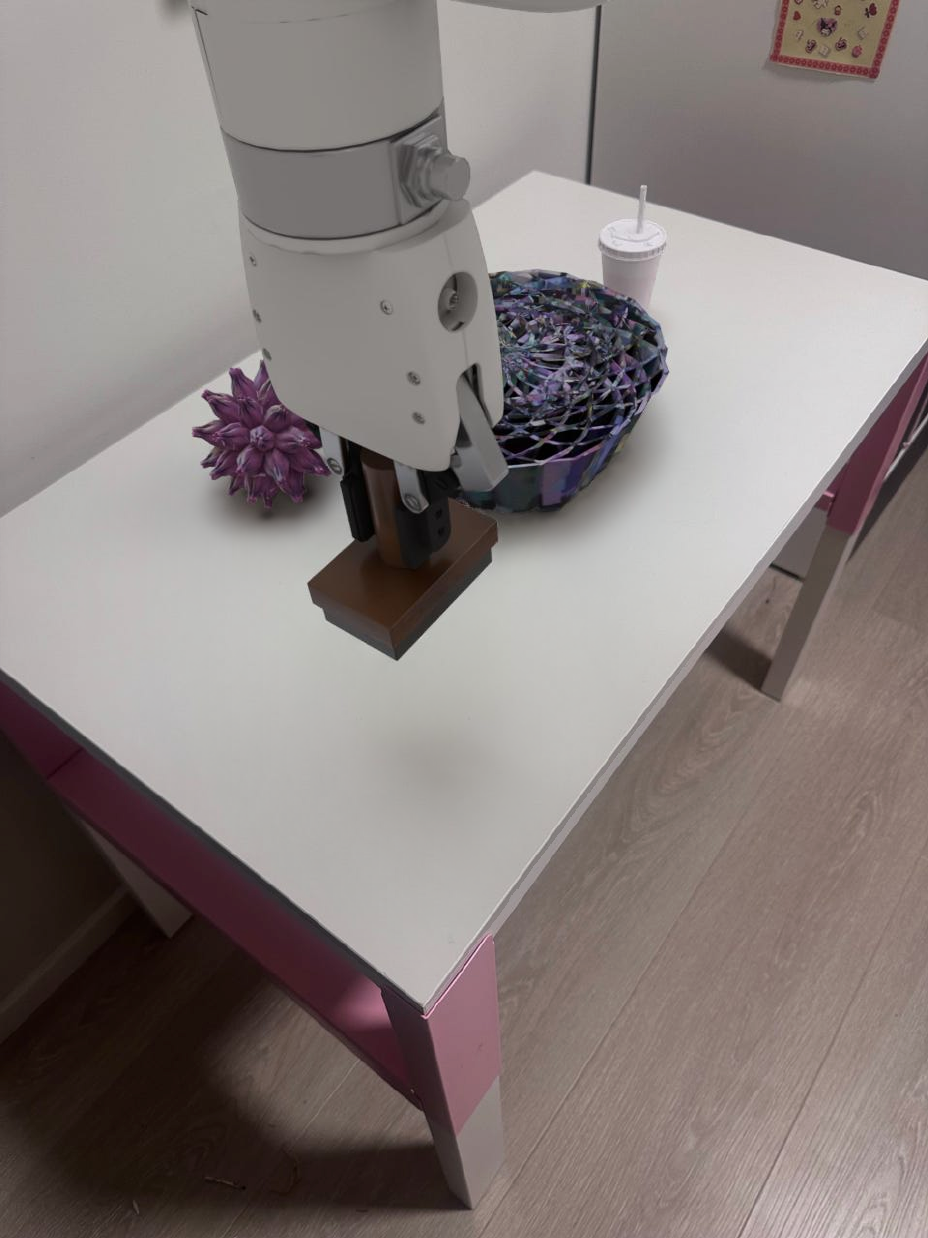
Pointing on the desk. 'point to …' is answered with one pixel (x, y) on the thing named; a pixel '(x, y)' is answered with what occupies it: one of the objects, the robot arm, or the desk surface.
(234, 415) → the flower
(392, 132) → the robot arm
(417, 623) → the stamp
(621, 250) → the smoothie
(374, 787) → the desk surface
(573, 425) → the decorative bowl
